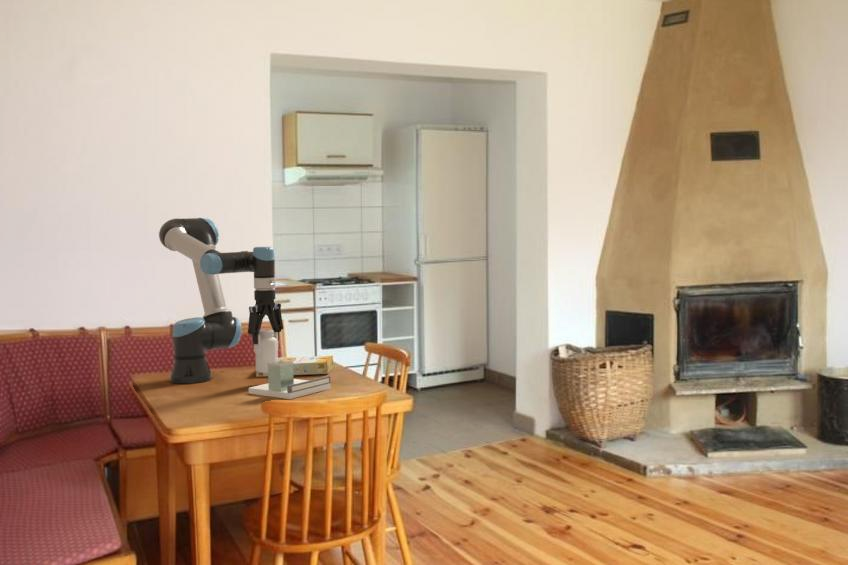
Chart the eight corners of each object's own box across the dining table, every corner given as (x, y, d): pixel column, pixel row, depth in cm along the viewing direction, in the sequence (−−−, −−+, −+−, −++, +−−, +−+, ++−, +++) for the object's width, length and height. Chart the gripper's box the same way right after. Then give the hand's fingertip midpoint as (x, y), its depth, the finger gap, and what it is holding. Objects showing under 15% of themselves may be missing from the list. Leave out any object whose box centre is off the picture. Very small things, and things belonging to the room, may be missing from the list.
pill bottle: (273, 373, 298) (272, 332, 296) (252, 372, 299) (251, 331, 298) (281, 369, 305) (280, 328, 304) (260, 368, 307) (259, 328, 306)
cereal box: (327, 361, 318) (254, 363, 318) (328, 375, 318) (255, 377, 318) (333, 354, 338) (264, 356, 338) (333, 367, 339) (264, 369, 338)
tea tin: (268, 389, 282) (267, 363, 281) (281, 386, 287) (280, 360, 286) (281, 391, 278) (280, 364, 277) (294, 388, 283) (293, 361, 282)
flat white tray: (248, 393, 286) (248, 380, 286) (290, 383, 302) (289, 371, 302) (290, 399, 274) (289, 386, 274) (331, 388, 291) (330, 376, 290)
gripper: (250, 292, 289) (252, 356, 291) (292, 287, 306) (294, 348, 308) (235, 291, 293) (237, 354, 295) (278, 286, 310) (279, 346, 312)
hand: (266, 351), depth 302 cm, fingers closed on pill bottle, 8 cm apart
